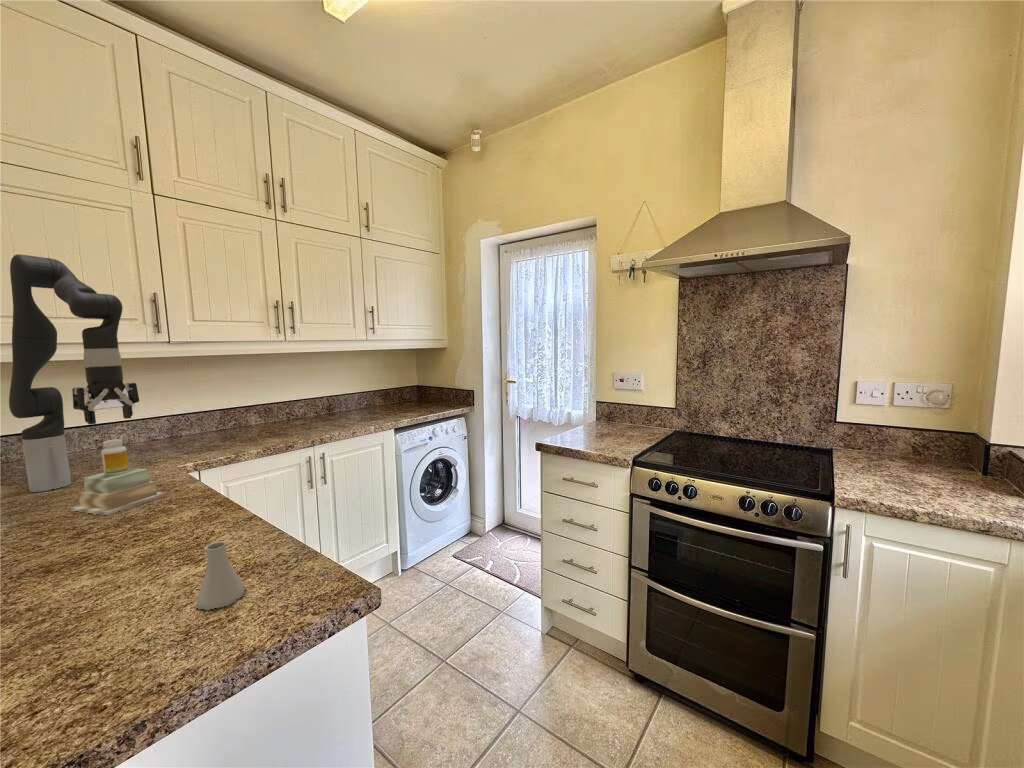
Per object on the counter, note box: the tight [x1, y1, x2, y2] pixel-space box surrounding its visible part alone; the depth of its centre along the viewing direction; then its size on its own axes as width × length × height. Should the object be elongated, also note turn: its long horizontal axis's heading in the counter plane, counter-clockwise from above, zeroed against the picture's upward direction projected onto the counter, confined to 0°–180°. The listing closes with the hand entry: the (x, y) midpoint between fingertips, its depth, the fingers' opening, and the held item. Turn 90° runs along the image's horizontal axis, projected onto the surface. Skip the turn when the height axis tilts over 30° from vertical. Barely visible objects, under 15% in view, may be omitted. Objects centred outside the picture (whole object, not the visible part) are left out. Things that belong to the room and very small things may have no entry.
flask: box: [194, 540, 247, 611], centre depth 73 cm, size 7×7×10 cm
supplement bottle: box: [100, 438, 130, 476], centre depth 120 cm, size 5×5×10 cm
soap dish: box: [69, 467, 167, 516], centre depth 121 cm, size 15×15×9 cm
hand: (110, 421), depth 119 cm, fingers open, 8 cm apart
